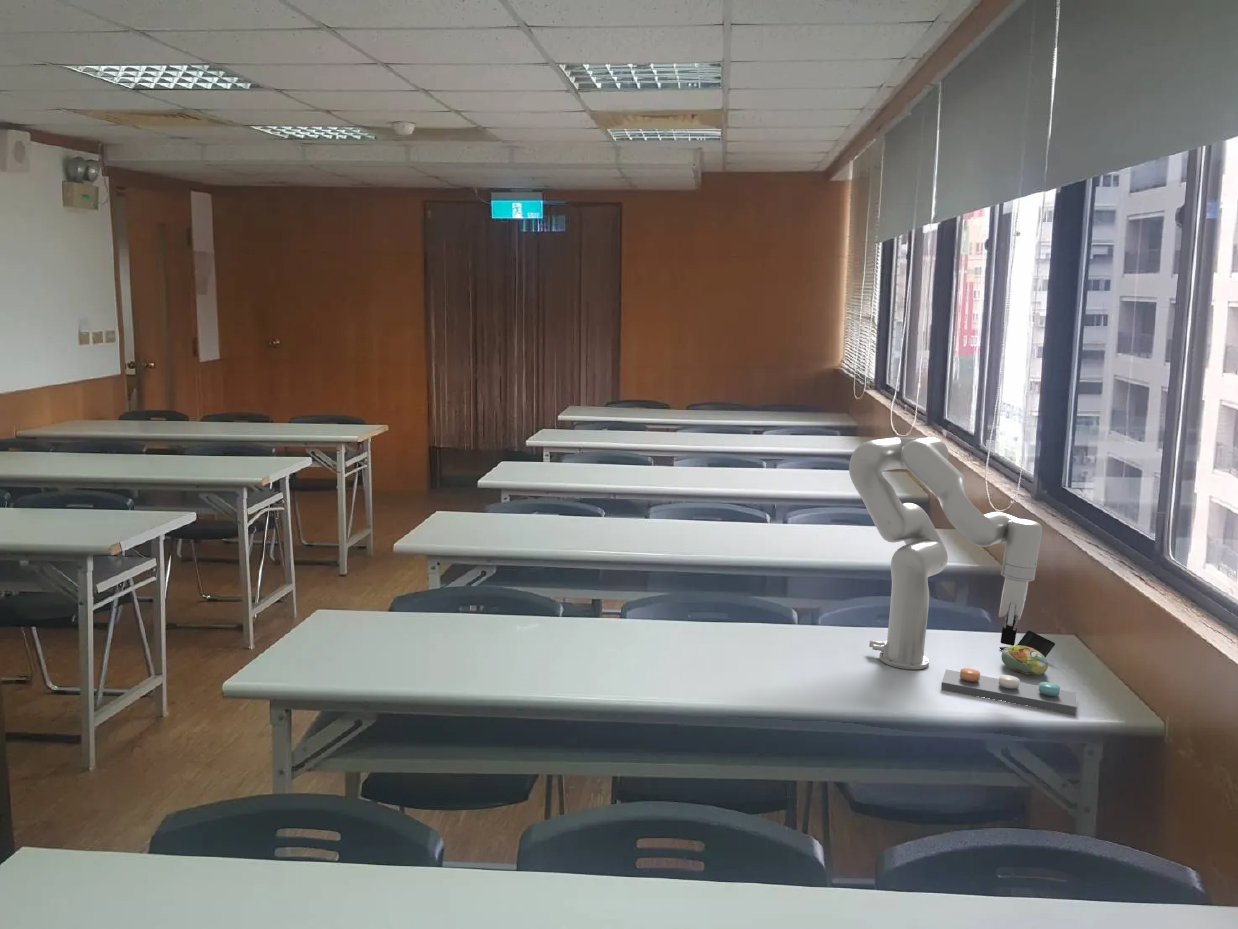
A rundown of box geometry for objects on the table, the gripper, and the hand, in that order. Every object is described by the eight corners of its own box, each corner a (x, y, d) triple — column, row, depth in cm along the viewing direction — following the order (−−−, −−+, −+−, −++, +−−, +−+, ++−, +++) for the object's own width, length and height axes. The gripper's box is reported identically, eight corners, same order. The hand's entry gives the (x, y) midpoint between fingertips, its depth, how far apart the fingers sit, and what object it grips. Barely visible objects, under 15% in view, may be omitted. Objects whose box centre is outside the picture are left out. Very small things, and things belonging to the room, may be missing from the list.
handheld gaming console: (994, 645, 277) (1017, 617, 278) (1006, 657, 281) (1028, 630, 281) (1025, 665, 267) (1049, 636, 268) (1037, 678, 271) (1061, 649, 271)
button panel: (941, 690, 246) (941, 682, 246) (945, 676, 255) (946, 669, 255) (1075, 715, 235) (1076, 707, 234) (1074, 700, 244) (1075, 692, 244)
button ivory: (998, 686, 243) (998, 679, 243) (999, 680, 248) (999, 673, 247) (1018, 689, 242) (1019, 683, 241) (1019, 683, 246) (1020, 677, 246)
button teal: (1038, 693, 240) (1039, 687, 240) (1038, 687, 244) (1039, 680, 244) (1059, 697, 238) (1060, 690, 238) (1059, 690, 242) (1060, 684, 242)
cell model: (1040, 652, 270) (1057, 650, 255) (1033, 680, 269) (1050, 680, 254) (999, 639, 272) (1014, 636, 257) (992, 667, 270) (1006, 666, 256)
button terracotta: (958, 679, 247) (959, 672, 247) (960, 673, 251) (961, 667, 251) (978, 682, 245) (979, 676, 245) (980, 676, 249) (980, 670, 249)
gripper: (1004, 561, 250) (993, 631, 254) (999, 575, 237) (988, 649, 240) (1036, 566, 247) (1025, 637, 251) (1033, 581, 234) (1022, 656, 237)
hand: (1007, 643), depth 245 cm, fingers closed
